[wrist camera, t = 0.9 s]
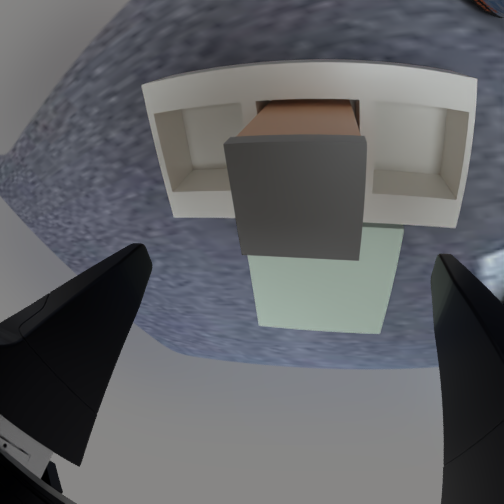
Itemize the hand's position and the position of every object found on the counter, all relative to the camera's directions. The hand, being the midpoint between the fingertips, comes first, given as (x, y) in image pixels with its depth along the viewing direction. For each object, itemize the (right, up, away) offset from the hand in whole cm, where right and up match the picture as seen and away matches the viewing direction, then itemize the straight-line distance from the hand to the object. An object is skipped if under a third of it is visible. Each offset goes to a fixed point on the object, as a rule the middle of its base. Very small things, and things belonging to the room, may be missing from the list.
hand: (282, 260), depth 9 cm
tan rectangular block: (+3, +8, +9) cm, 12 cm away
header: (+3, +8, +10) cm, 13 cm away
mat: (+5, -2, +17) cm, 18 cm away
